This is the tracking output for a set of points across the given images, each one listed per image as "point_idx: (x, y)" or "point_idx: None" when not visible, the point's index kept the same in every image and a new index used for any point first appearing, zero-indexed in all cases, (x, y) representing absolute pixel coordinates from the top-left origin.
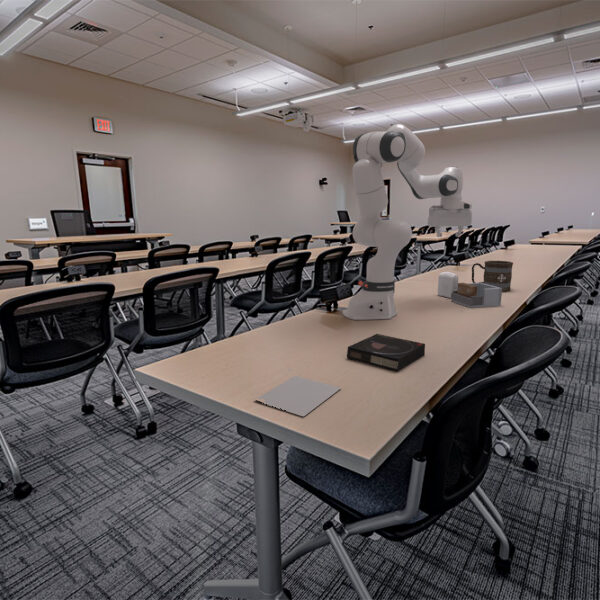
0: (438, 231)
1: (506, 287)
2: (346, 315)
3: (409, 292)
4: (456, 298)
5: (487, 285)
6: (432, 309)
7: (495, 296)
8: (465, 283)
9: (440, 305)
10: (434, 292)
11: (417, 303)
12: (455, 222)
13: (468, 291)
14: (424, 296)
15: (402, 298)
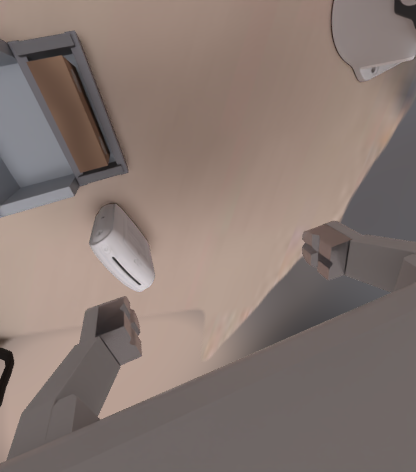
0: (388, 238)
1: None
2: None
3: (210, 272)
4: (115, 136)
5: None
6: (216, 44)
7: None
8: (75, 152)
9: (175, 104)
10: None
11: (232, 139)
12: (238, 454)
13: (76, 79)
14: (187, 229)
15: (248, 203)
